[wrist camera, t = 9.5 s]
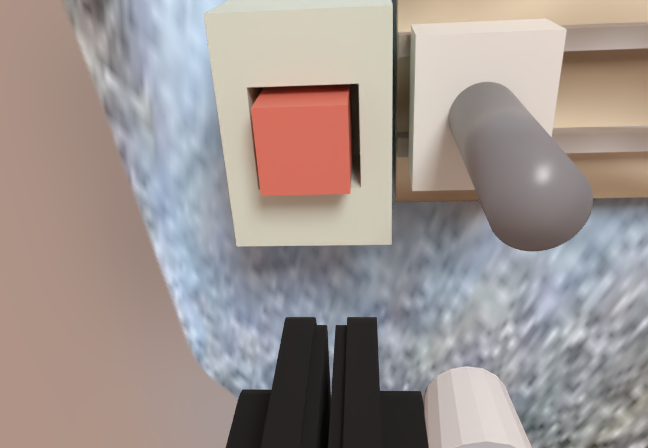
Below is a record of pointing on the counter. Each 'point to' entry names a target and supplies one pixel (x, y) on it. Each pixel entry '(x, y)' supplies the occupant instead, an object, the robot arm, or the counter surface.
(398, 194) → the rail track
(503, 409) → the pale pink cylinder cup
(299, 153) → the red block
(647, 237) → the counter surface
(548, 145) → the carriage
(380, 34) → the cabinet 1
